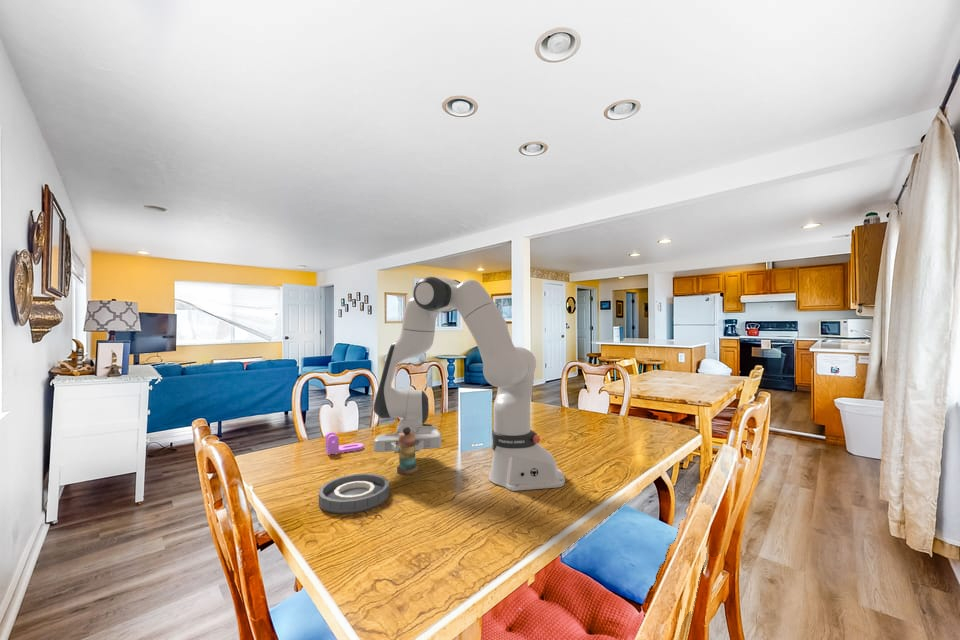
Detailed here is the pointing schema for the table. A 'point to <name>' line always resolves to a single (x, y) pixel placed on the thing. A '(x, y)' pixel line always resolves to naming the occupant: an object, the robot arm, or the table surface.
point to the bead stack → (407, 453)
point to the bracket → (334, 447)
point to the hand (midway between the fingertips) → (406, 449)
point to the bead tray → (353, 493)
